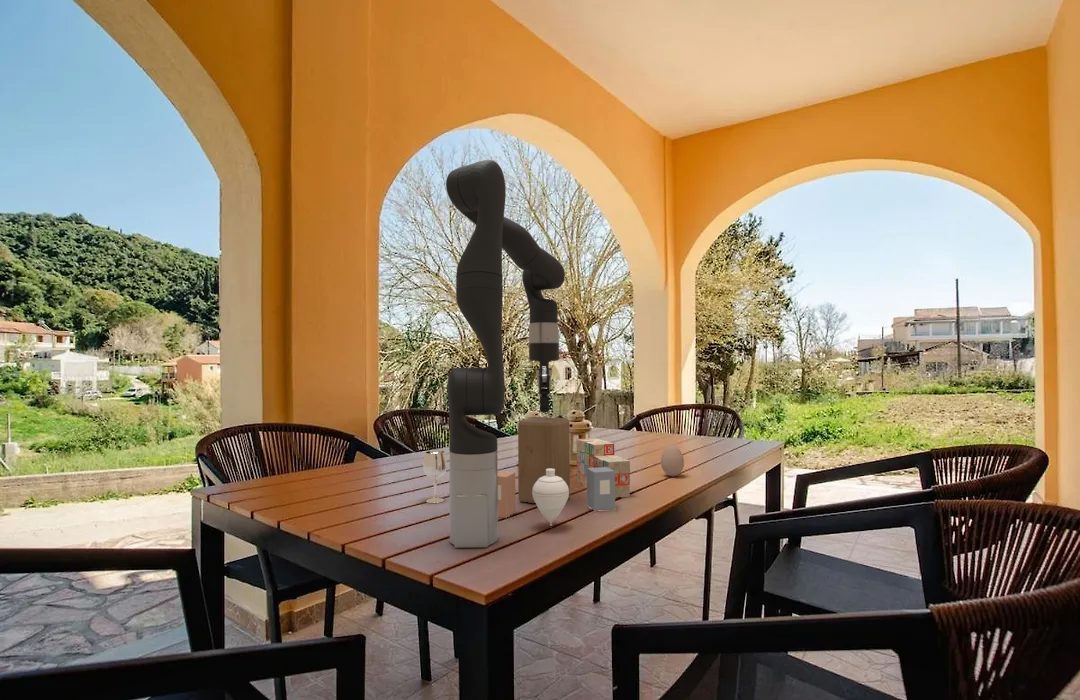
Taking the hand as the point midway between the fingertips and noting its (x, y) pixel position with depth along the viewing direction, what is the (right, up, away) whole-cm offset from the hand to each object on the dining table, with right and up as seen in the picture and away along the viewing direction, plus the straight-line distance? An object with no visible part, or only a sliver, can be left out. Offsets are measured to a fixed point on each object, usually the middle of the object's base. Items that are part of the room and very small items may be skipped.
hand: (544, 411), depth 137 cm
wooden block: (0, -22, 0) cm, 22 cm away
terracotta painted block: (-10, -22, -12) cm, 27 cm away
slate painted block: (+13, -22, -8) cm, 27 cm away
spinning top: (+1, -22, -22) cm, 31 cm away
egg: (+38, -22, +26) cm, 51 cm away
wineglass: (-27, -22, 0) cm, 35 cm away
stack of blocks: (+15, -22, +11) cm, 29 cm away
